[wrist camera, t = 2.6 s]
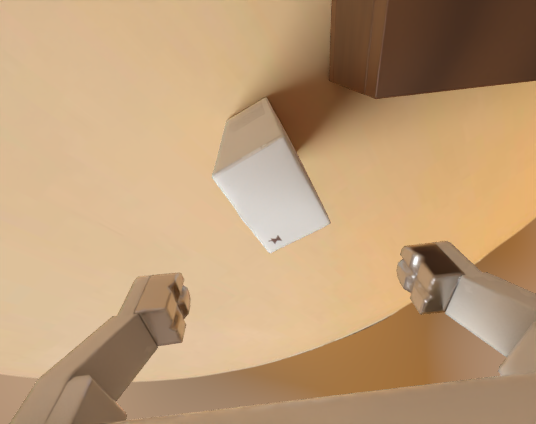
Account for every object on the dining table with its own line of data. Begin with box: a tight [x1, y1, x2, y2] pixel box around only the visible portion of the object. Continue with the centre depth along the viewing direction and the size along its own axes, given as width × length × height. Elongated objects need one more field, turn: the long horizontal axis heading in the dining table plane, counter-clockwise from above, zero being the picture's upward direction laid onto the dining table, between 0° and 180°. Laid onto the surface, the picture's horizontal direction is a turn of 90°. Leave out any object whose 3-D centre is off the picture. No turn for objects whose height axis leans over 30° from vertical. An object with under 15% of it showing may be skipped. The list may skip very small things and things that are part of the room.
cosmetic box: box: [212, 97, 330, 253], centre depth 18 cm, size 6×4×12 cm
